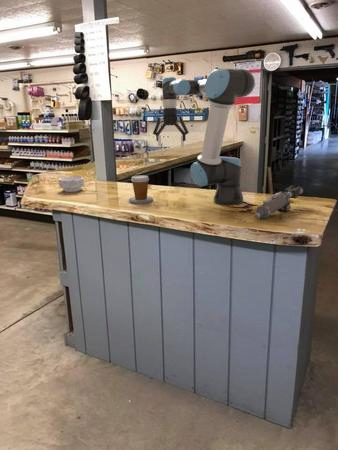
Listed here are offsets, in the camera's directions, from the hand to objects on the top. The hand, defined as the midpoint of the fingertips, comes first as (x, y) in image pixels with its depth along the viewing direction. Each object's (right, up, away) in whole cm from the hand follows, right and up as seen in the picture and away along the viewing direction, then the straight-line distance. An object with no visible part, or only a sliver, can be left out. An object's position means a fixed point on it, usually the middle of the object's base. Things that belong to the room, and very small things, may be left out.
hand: (171, 147), depth 208 cm
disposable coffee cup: (-16, -30, -9) cm, 35 cm away
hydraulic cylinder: (+49, -38, -38) cm, 73 cm away
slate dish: (-16, -31, -9) cm, 36 cm away
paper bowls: (-62, -23, +24) cm, 70 cm away
